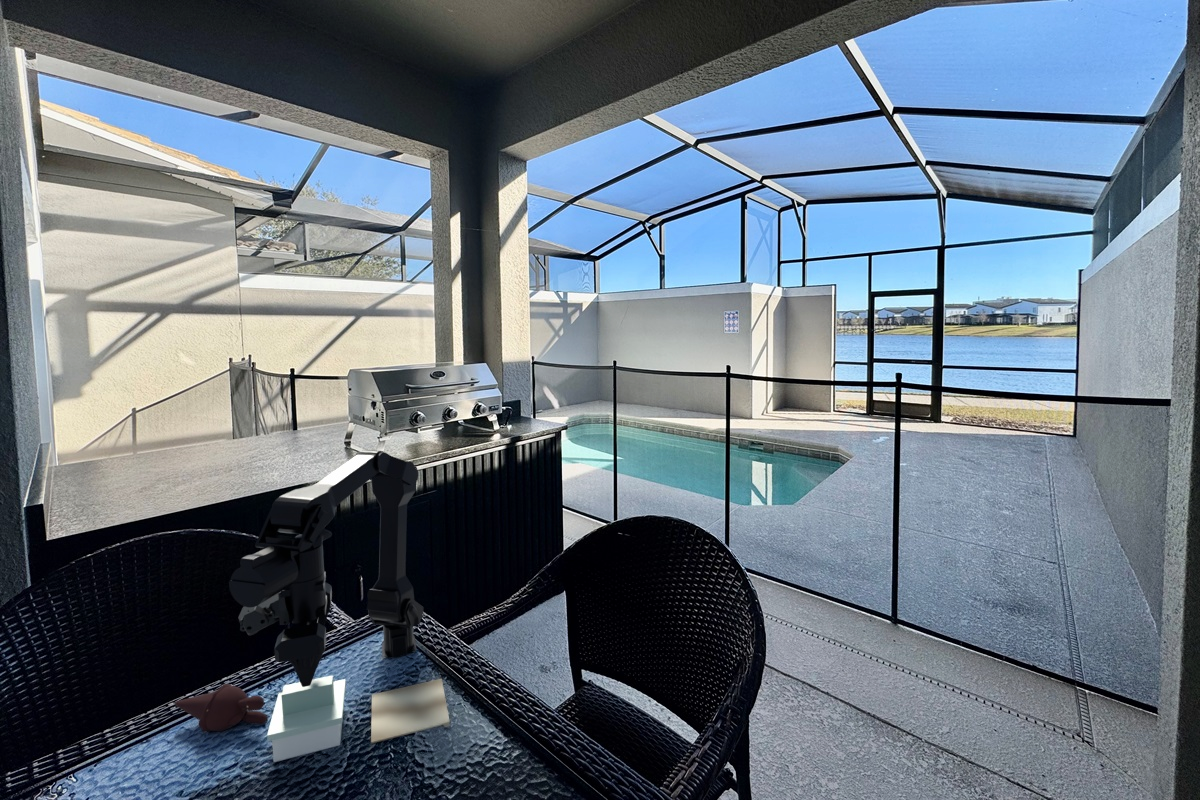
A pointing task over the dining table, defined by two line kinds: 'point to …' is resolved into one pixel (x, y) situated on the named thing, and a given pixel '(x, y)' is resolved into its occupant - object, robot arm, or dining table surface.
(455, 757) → the dining table surface
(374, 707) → the board
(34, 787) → the dining table surface
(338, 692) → the lid
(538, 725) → the dining table surface
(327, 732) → the box
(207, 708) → the brown gnome figurine
